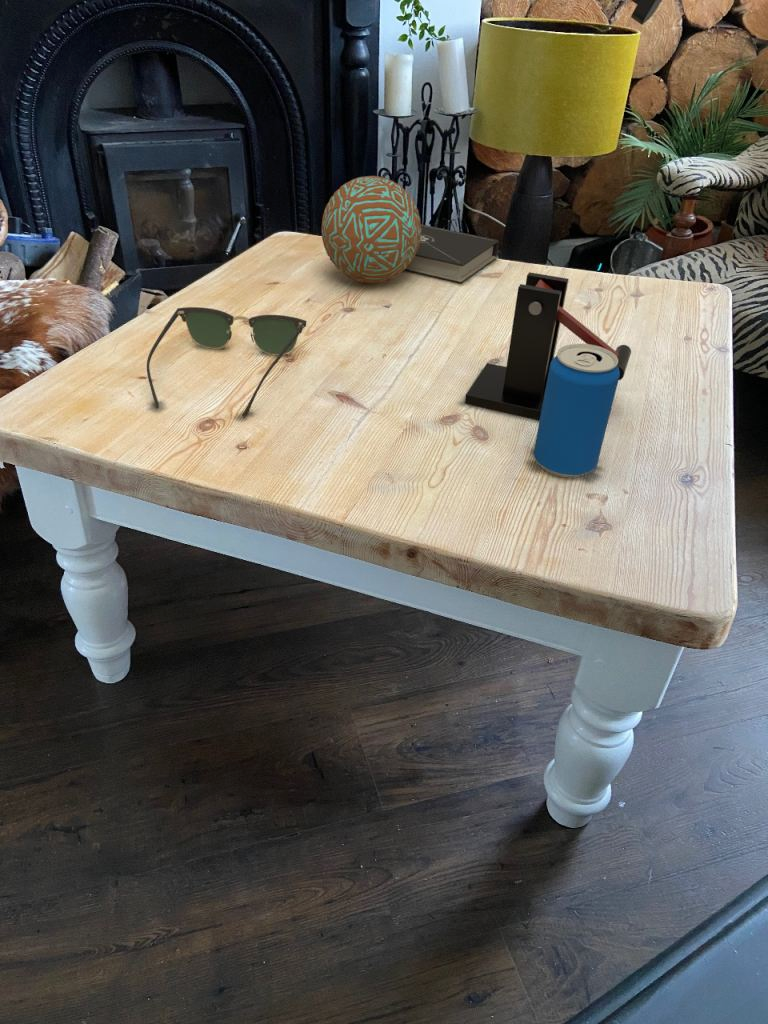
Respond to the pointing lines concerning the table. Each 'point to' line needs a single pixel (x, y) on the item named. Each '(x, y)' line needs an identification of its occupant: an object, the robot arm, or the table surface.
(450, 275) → the book
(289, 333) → the sunglasses
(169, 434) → the table surface
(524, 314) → the bracket
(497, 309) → the table surface
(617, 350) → the lever
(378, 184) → the decorative sphere
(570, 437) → the beverage can
